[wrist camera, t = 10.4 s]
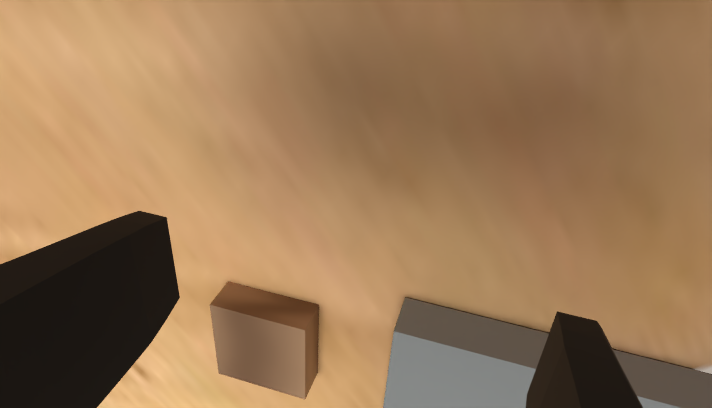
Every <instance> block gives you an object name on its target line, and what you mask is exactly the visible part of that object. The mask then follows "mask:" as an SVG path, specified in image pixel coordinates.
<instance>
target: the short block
mask: <svg viewBox="0 0 712 408" xmlns="http://www.w3.org/2000/svg"><path fill="white" fill-rule="evenodd" d="M210 310H211V318H212V325H213V333H214V340H215V348H216V356H217V363H218V371H219V374H223V375H226V376H229V377H233V378H236V379H239V380H243V381H246V382H249V383H252V384H256V385H259V386H262V387H266V388H269V389H272V390H276V391H279V392H282V393H286V394H289V395H292V396H295V397H299V398H302V399H306V396H307V394H308V392H309V390H310V388H311V386H312V384H313V381H314V379H315V377H316V375H317V373H318V325H319V305H318V304H314V303H310V302H306V301H302V300H298V299H294V298H290V297H286V296H283V295H279V294H275V293H271V292H267V291H263V290H259V289H255V288H251V287H247V286H243V285H240V284H236V283H232V282H228V283H227V284H226V285H225V286H224V287H223V289H222V290H221V291H220V292H219V294H218V295H217V296H216V297H215V299H214V300H213V301H212V302H211V304H210Z"/></svg>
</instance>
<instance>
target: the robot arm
mask: <svg viewBox="0 0 712 408" xmlns="http://www.w3.org/2000/svg"><path fill="white" fill-rule="evenodd" d="M179 298H180V296H179V290H178V284H177V278H176V272H175V266H174V260H173V254H172V248H171V242H170V235H169V229H168V223H167V217H163V216H159V215H154V214H150V213H146V212H142V211H137V212H134V213H131V214H128V215H125V216H122V217H119V218H116V219H114V220H111V221H108V222H106V223H103V224H101V225H98V226H96V227H93V228H91V229H88V230H86V231H83V232H81V233H78V234H76V235H73V236H71V237H68V238H66V239H63V240H61V241H58V242H56V243H53V244H51V245H48V246H46V247H43V248H41V249H38V250H36V251H34V252H31V253H29V254H26V255H24V256H21V257H19V258H16V259H13V260H11V261H8V262H6V263H3V264H0V408H97V407H98V406H99V404H100V403H101V402H102V401H103V400H104V399H105V397H106V396H107V395H108V394H109V393H110V391H111V390H112V389H113V388H114V387H115V385H116V384H117V383H118V382H119V381H120V380H121V378H122V377H123V376H124V375H125V374H126V372H127V371H128V370H129V369H130V368H131V366H132V365H133V364H134V363H135V362H136V360H137V359H138V358H139V357H140V356H141V354H142V353H143V352H144V351H145V349H146V348H147V347H148V346H149V344H150V343H151V342H152V341H153V339H154V337H155V336H156V334H157V333H158V331H159V330H160V328H161V327H162V325H163V324H164V322H165V321H166V319H167V318H168V316H169V314H170V313H171V311H172V309H173V308H174V306H175V304H176V303H177V301H178V299H179ZM526 408H643V406H642V404H641V403H640V401H639V399H638V397H637V395H636V393H635V392H634V390H633V388H632V386H631V384H630V382H629V380H628V379H627V377H626V375H625V373H624V371H623V369H622V367H621V365H620V363H619V361H618V359H617V357H616V355H615V353H614V351H613V349H612V347H611V346H610V344H609V342H608V340H607V338H606V336H605V334H604V332H603V330H602V328H601V326H600V325H599V323H598V322H597V321H594V320H590V319H586V318H582V317H578V316H573V315H569V314H565V313H561V312H557V313H556V316H555V319H554V322H553V324H552V327H551V330H550V332H549V335H548V338H547V341H546V343H545V346H544V349H543V352H542V354H541V357H540V360H539V363H538V365H537V368H536V371H535V373H534V376H533V379H532V382H531V384H530V387H529V390H528V393H527V399H526Z"/></svg>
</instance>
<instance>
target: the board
mask: <svg viewBox="0 0 712 408" xmlns="http://www.w3.org/2000/svg"><path fill="white" fill-rule="evenodd" d="M548 335H549V333H545V332H541V331H537V330H533V329H529V328H525V327H522V326H518V325H514V324H510V323H506V322H502V321H498V320H494V319H490V318H486V317H482V316H478V315H474V314H470V313H466V312H462V311H458V310H454V309H450V308H446V307H442V306H438V305H434V304H430V303H426V302H422V301H418V300H414V299H410V298H406V297H405V299H404V302H403V305H402V308H401V311H400V314H399V317H398V320H397V323H396V326H395V329H394V334H393V341H392V348H391V355H390V362H389V370H388V377H387V384H386V391H385V398H384V406H383V408H526V399H527V393H528V390H529V387H530V384H531V382H532V379H533V376H534V373H535V371H536V368H537V365H538V363H539V360H540V357H541V354H542V352H543V349H544V346H545V343H546V341H547V338H548ZM613 351H614V353H615V355H616V357H617V359H618V361H619V363H620V365H621V367H622V369H623V371H624V373H625V375H626V377H627V379H628V380H629V382H630V384H631V386H632V388H633V390H634V392H635V393H636V395H637V397H638V399H639V401H640V403H641V404H642V406H643V408H712V374H709V373H705V372H701V371H697V370H693V369H689V368H685V367H681V366H677V365H673V364H669V363H665V362H661V361H657V360H653V359H649V358H645V357H641V356H637V355H633V354H629V353H625V352H621V351H617V350H613Z"/></svg>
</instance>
